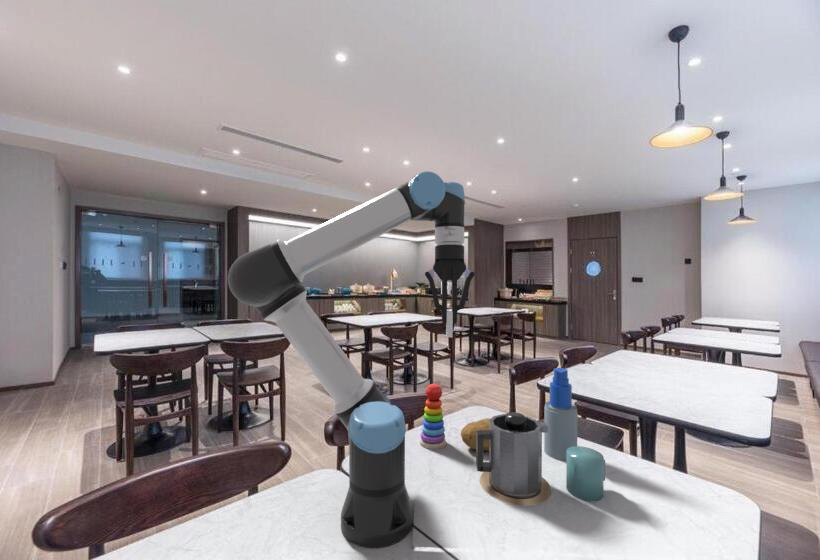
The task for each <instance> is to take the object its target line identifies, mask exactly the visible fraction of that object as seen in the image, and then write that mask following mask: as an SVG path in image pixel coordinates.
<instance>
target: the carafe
mask: <svg viewBox="0 0 820 560" xmlns="http://www.w3.org/2000/svg"><path fill="white" fill-rule="evenodd" d="M506 414H507V413H503V414H498V415H497V414H496V415H493V416H492V417H491V419H490V420H489V430H479V431H477V430H476V450H475V454H476V455H475V457H476V458H475V467H476V470H477V471H476V472H481V473H484V472H489V483H490V486H491V487H492V488H493V489H494V490H495V491H496V492H498V493H500V494H502V495H504V496H507V497H510V498H515V499H530V498H533V497H536V496H537V495H539V494H540V492H541V485H542V477H543V471H542V469H543V464H542V463H543V459H542V458H543V454H542V453H543V434H544V433H548V426H547V424H546V423H545V422H544V421H538V420H535V419H534V418H532V417H529V416H527V415H526V416H525V415H524V429H523V430H520V431H517V432H513V430H510V429H508V428H507V427H506ZM483 439H489V451H488V461H484V450H483Z"/></svg>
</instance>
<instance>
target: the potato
mask: <svg viewBox="0 0 820 560" xmlns="http://www.w3.org/2000/svg"><path fill="white" fill-rule="evenodd" d="M491 418H492V417H491ZM491 418H482V419H480V420H476V421H472V422H469V423H467V424H466V425H465V426H464V427H463V428H462V429H461V431H460V436H461V440H462V441H463V443H464V444H465V445H466V446H468V448H470V449H472V450H475V451H476V430H477V431H479V430H489V420H490V419H491ZM484 451H485V452H486V451H487V452H489V439H483V452H484Z"/></svg>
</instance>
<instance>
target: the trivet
mask: <svg viewBox="0 0 820 560" xmlns="http://www.w3.org/2000/svg"><path fill="white" fill-rule="evenodd" d="M479 484H480V487H481V488H482V489H483V491H484V492H486V493H487V494H488V495H489V496H490V497H492V498H494V499H495V500H498V501H499V502H503V503H506V504H510V505H514V506H527V507H528V506H537V505H540V504H543V503H544V502H547V501H548V500H549V499H550V498H551V495H552V491H553V490H552V486H551V485H550V483H549V482H548V480H547V479H545V478H544V477H543V476H542V485H541V492H540V494H539V495H537V496H536V497H533V498H530V499H515V498H510V497H507V496H504V495H502V494H500V493H498V492H496V491H495V490H494V489H493V488H492V487H491V486H490V483H489V472H482V474H481V475H480V477H479Z"/></svg>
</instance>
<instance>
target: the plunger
mask: <svg viewBox="0 0 820 560" xmlns="http://www.w3.org/2000/svg"><path fill="white" fill-rule="evenodd" d="M505 414H506V427H507V428H508V429H510V430H513V432H517V431H520V430H523V429H524V416H525V415H524V414H522V413H520V412H516V411H514V412H513V411H512V412H507V413H505Z"/></svg>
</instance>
